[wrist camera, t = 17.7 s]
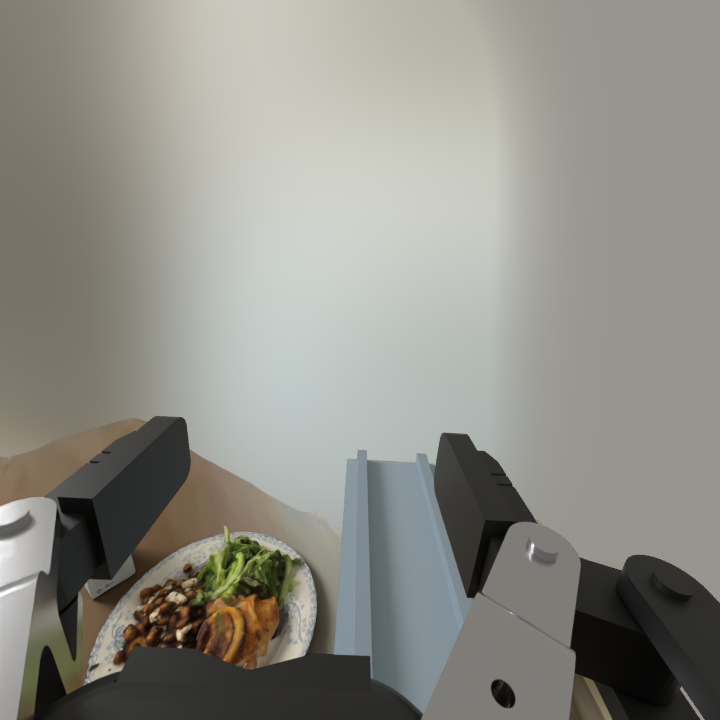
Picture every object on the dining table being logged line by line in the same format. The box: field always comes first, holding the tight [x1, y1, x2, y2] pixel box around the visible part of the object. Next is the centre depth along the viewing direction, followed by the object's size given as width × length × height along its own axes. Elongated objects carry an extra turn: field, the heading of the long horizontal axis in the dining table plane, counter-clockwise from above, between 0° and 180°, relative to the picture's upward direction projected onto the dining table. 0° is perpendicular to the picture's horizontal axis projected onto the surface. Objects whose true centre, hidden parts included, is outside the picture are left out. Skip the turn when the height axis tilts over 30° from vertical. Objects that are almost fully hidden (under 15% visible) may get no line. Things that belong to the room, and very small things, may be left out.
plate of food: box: [84, 526, 317, 685], centre depth 45 cm, size 28×28×6 cm
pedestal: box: [334, 450, 474, 714], centre depth 27 cm, size 18×8×33 cm, turn 0°
